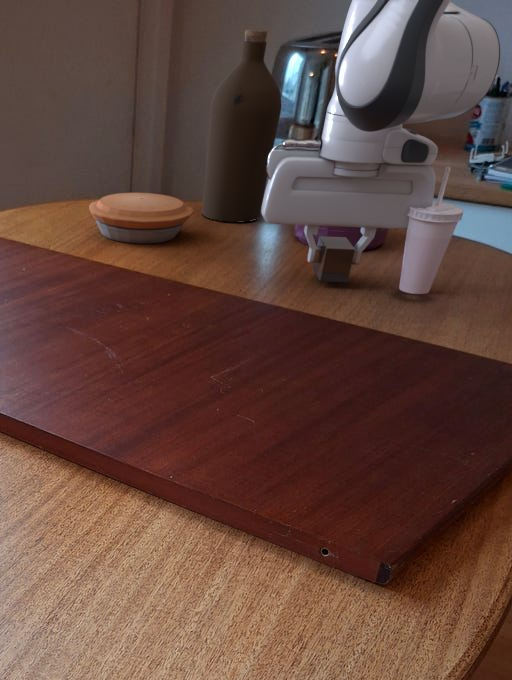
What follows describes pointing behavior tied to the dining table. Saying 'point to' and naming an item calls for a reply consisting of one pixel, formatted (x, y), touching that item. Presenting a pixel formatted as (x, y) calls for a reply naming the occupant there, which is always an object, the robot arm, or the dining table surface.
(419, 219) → the smoothie
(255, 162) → the olive oil
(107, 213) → the pie
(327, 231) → the bowl
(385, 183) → the robot arm
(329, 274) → the eraser
